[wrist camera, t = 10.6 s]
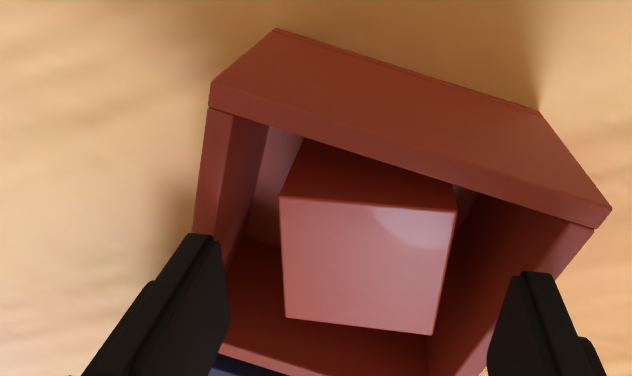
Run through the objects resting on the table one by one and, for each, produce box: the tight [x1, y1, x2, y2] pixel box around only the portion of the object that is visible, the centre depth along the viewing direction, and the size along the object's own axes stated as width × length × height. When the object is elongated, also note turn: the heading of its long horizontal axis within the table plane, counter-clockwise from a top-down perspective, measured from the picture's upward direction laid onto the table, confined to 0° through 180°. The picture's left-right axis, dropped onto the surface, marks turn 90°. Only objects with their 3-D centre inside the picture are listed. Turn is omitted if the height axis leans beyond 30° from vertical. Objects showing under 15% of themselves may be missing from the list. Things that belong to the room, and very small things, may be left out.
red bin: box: [191, 28, 612, 376], centre depth 13 cm, size 9×9×6 cm
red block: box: [278, 137, 458, 335], centre depth 13 cm, size 4×4×4 cm
